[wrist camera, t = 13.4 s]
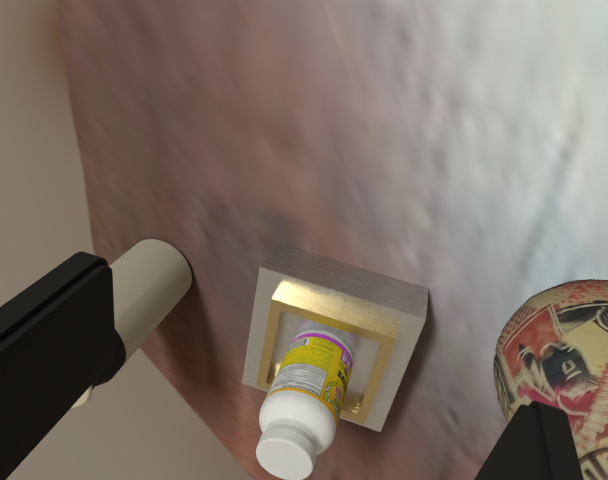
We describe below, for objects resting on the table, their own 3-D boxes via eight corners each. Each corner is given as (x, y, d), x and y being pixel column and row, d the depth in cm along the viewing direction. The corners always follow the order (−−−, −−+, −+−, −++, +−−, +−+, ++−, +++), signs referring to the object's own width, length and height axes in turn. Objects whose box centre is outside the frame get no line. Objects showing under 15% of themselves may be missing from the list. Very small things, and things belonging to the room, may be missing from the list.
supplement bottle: (348, 385, 49) (318, 500, 38) (287, 367, 50) (241, 473, 39) (360, 336, 46) (331, 447, 35) (294, 318, 47) (246, 419, 36)
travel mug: (197, 252, 53) (92, 362, 38) (188, 306, 57) (91, 423, 42) (133, 227, 54) (6, 324, 38) (129, 282, 58) (13, 389, 43)
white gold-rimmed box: (428, 288, 47) (424, 329, 41) (381, 409, 56) (373, 455, 51) (276, 242, 49) (254, 275, 44) (255, 365, 59) (234, 404, 53)
